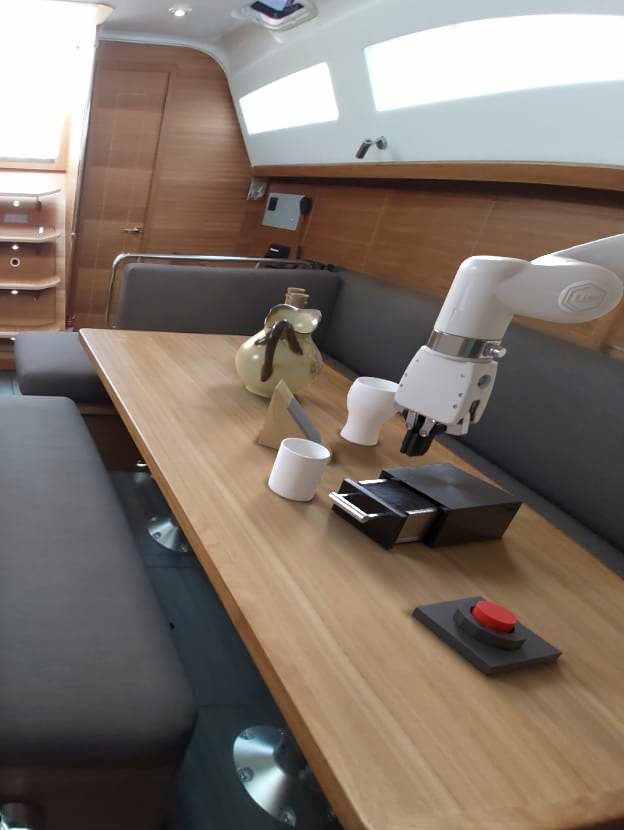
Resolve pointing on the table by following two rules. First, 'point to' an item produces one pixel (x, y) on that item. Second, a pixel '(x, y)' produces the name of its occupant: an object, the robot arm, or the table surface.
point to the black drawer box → (458, 503)
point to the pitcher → (281, 352)
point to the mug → (298, 469)
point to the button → (494, 616)
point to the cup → (369, 409)
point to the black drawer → (386, 511)
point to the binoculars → (296, 298)
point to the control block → (484, 638)
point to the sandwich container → (288, 421)
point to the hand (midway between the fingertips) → (411, 453)
